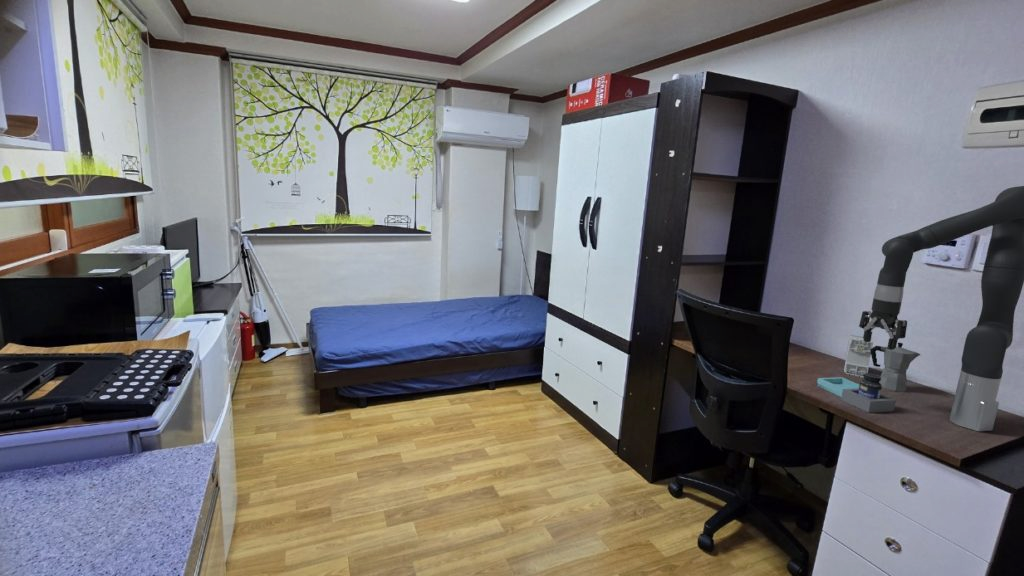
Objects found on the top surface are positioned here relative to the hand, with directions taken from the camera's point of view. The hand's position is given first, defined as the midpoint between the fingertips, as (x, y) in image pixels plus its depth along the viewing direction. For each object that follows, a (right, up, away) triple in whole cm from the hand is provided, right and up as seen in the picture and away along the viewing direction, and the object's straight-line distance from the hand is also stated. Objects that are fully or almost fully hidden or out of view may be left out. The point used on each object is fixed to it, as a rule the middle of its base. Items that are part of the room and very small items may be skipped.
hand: (878, 345), depth 162 cm
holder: (-1, -21, +4) cm, 22 cm away
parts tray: (-1, -19, +16) cm, 25 cm away
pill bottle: (-1, -22, +4) cm, 22 cm away
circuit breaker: (+21, -16, +40) cm, 48 cm away
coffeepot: (+21, -19, +23) cm, 37 cm away
